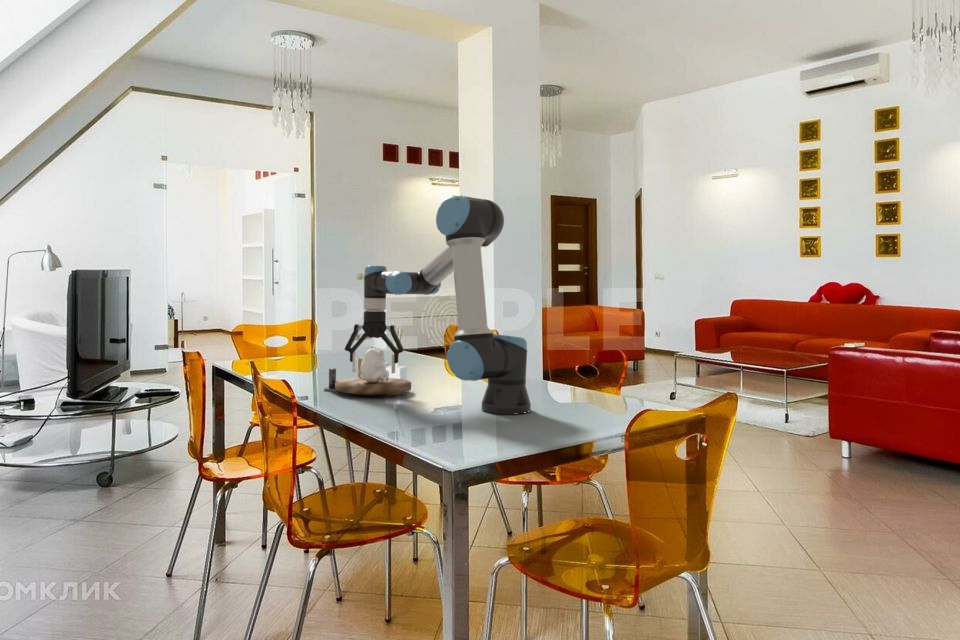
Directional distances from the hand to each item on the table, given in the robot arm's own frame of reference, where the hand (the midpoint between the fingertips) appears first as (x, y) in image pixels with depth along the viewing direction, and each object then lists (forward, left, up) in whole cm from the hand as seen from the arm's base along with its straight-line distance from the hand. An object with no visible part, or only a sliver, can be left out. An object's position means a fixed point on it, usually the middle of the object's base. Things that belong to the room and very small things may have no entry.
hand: (373, 372), depth 236 cm
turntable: (0, 0, -6) cm, 6 cm away
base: (+5, 0, -7) cm, 9 cm away
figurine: (0, 0, -4) cm, 4 cm away
